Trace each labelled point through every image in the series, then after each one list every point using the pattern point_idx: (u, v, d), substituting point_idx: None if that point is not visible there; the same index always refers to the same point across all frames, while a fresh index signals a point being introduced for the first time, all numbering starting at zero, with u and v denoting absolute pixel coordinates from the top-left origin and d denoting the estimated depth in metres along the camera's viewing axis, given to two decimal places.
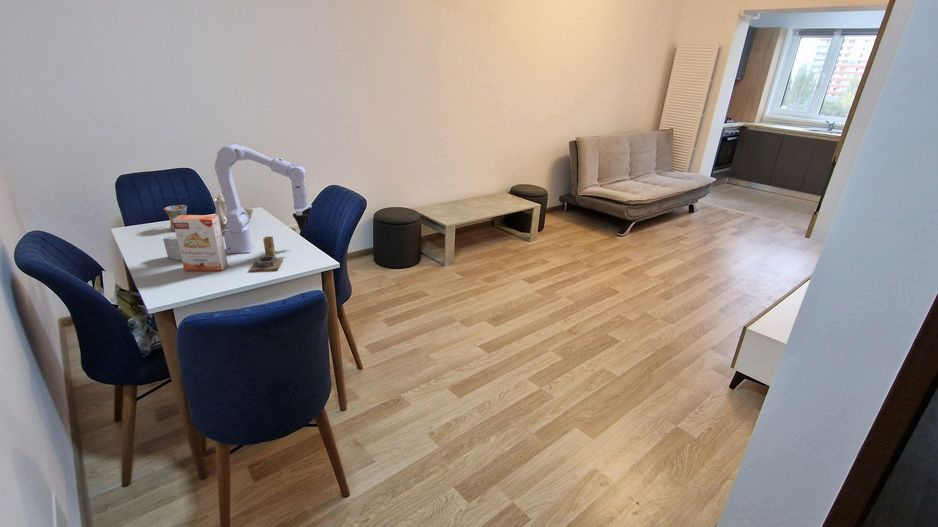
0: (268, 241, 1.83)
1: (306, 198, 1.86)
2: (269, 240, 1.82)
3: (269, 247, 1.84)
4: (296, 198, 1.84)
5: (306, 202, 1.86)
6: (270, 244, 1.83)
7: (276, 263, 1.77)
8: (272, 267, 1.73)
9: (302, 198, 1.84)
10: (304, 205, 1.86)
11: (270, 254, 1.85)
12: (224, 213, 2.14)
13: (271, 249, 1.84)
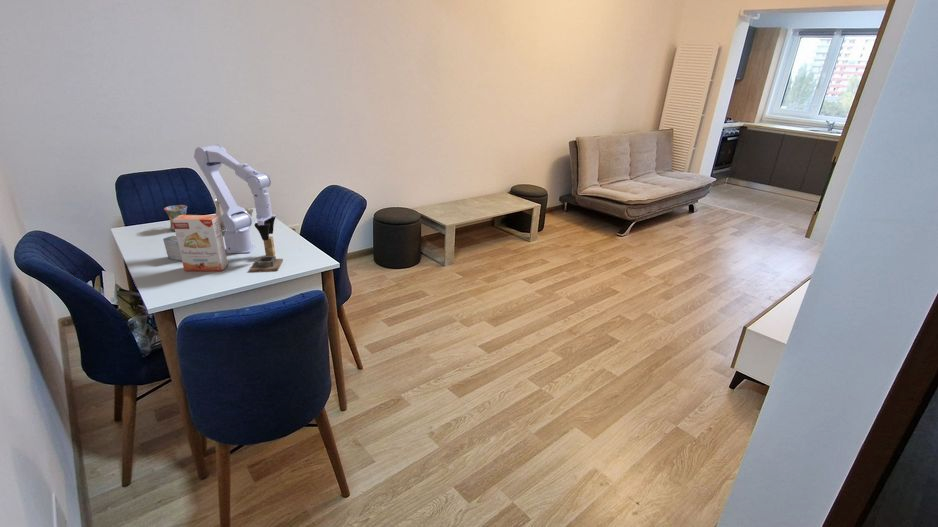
0: (268, 241, 1.83)
1: (269, 207, 1.78)
2: (269, 240, 1.82)
3: (269, 247, 1.84)
4: (258, 207, 1.76)
5: (269, 211, 1.78)
6: (270, 244, 1.83)
7: (276, 263, 1.77)
8: (272, 267, 1.73)
9: (264, 207, 1.76)
10: (267, 214, 1.78)
11: (270, 254, 1.85)
12: None
13: (271, 249, 1.84)
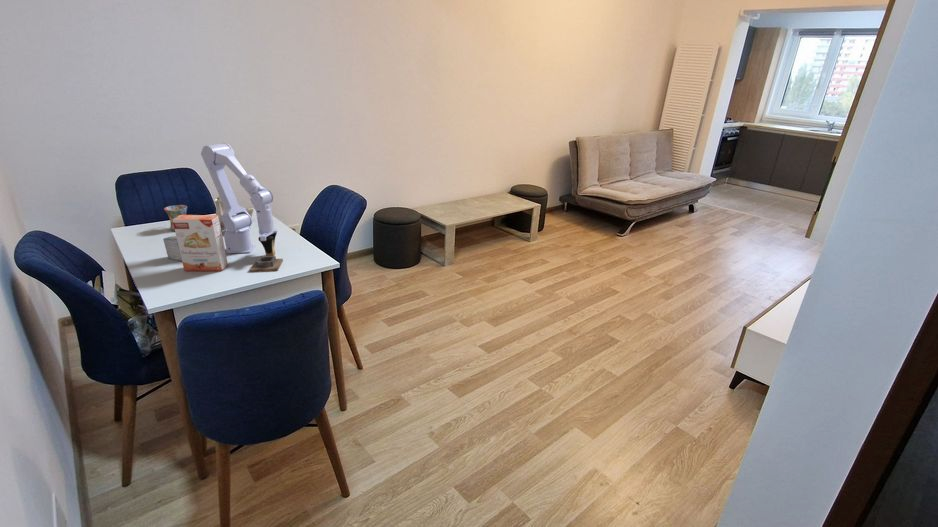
0: None
1: (271, 222, 1.80)
2: None
3: None
4: (260, 223, 1.78)
5: (271, 227, 1.81)
6: None
7: (276, 263, 1.77)
8: (272, 267, 1.73)
9: (267, 223, 1.79)
10: (269, 230, 1.80)
11: (270, 254, 1.85)
12: None
13: None
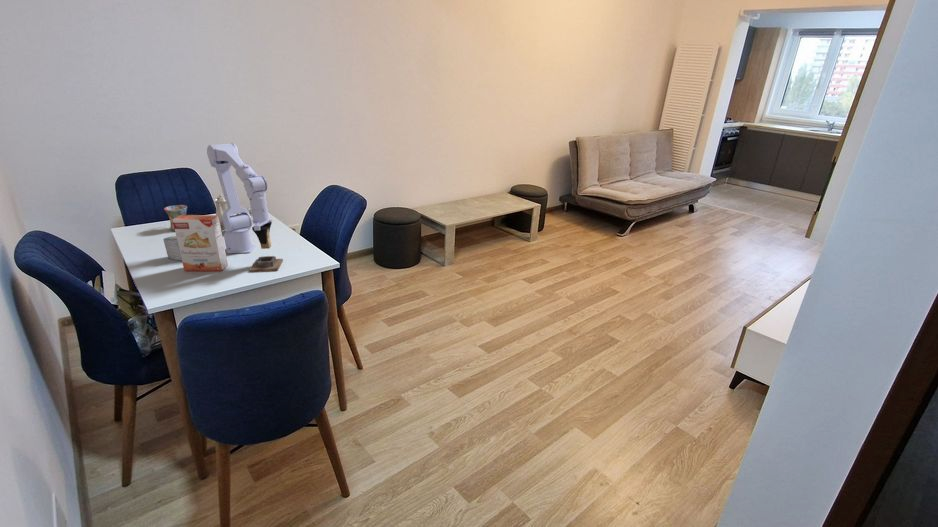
0: None
1: (266, 211, 1.70)
2: None
3: None
4: (254, 211, 1.68)
5: (266, 216, 1.70)
6: None
7: (276, 263, 1.77)
8: (272, 267, 1.73)
9: (261, 211, 1.68)
10: (263, 219, 1.70)
11: (265, 245, 1.75)
12: None
13: None
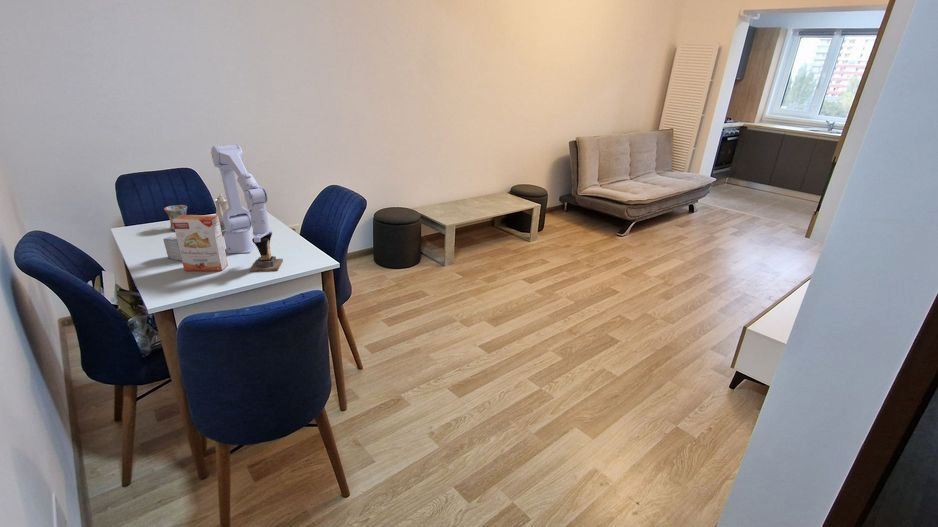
0: None
1: (266, 223, 1.69)
2: None
3: None
4: (254, 223, 1.67)
5: (266, 227, 1.69)
6: None
7: (276, 263, 1.77)
8: (272, 267, 1.73)
9: (261, 223, 1.67)
10: (264, 230, 1.69)
11: (266, 256, 1.74)
12: None
13: (267, 251, 1.73)
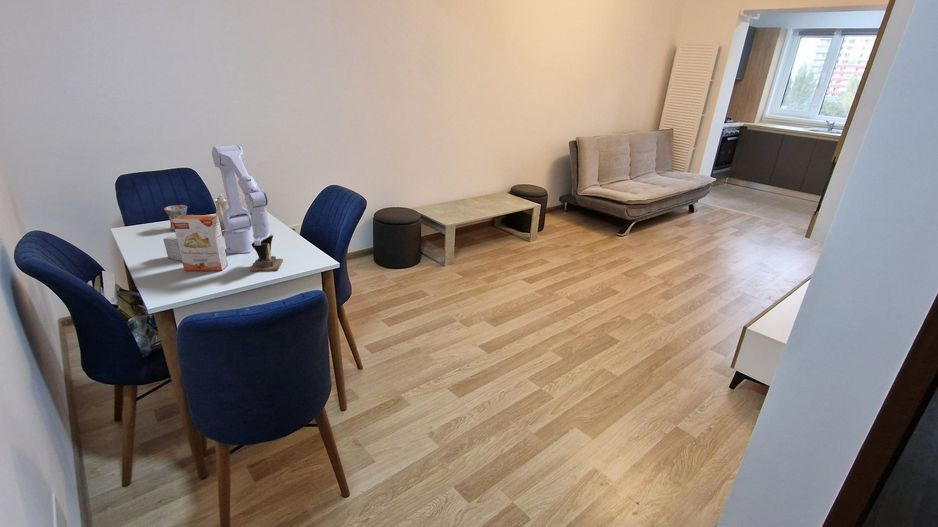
0: None
1: (266, 226, 1.70)
2: None
3: None
4: (255, 226, 1.67)
5: (266, 230, 1.70)
6: None
7: (276, 263, 1.77)
8: (272, 267, 1.73)
9: (262, 226, 1.68)
10: (264, 233, 1.69)
11: None
12: None
13: (268, 257, 1.74)
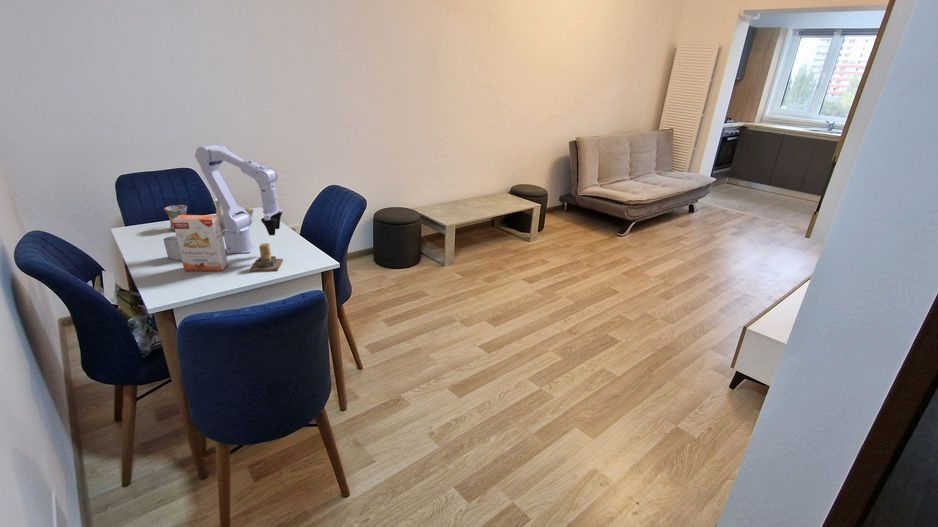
0: (264, 248, 1.72)
1: (276, 202, 1.78)
2: (265, 247, 1.72)
3: (265, 255, 1.73)
4: (265, 202, 1.76)
5: (276, 206, 1.78)
6: (266, 251, 1.73)
7: (276, 263, 1.77)
8: (272, 267, 1.73)
9: (271, 202, 1.76)
10: (273, 209, 1.78)
11: None
12: None
13: (268, 257, 1.74)
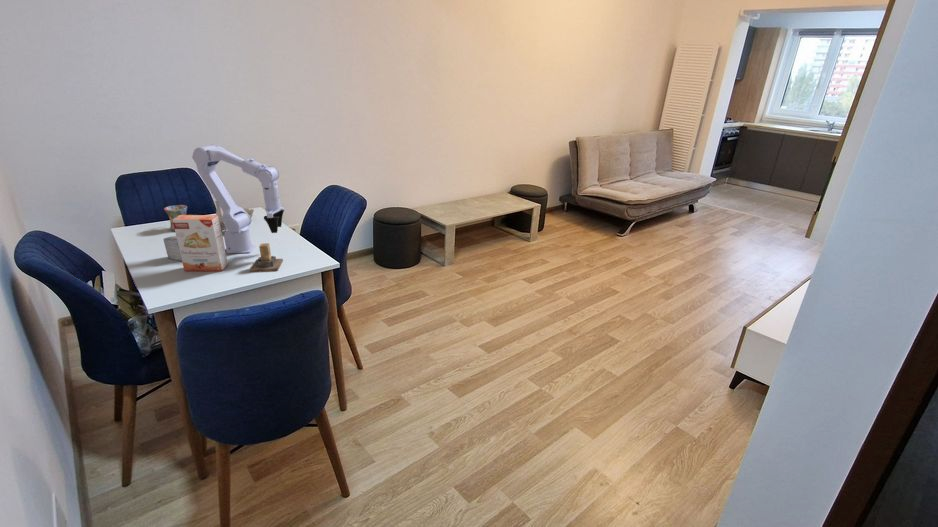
0: (264, 248, 1.72)
1: (278, 200, 1.80)
2: (265, 247, 1.72)
3: (265, 255, 1.73)
4: (267, 200, 1.78)
5: (278, 204, 1.80)
6: (266, 251, 1.73)
7: (276, 263, 1.77)
8: (272, 267, 1.73)
9: (273, 200, 1.78)
10: (276, 207, 1.80)
11: None
12: None
13: (268, 257, 1.74)
